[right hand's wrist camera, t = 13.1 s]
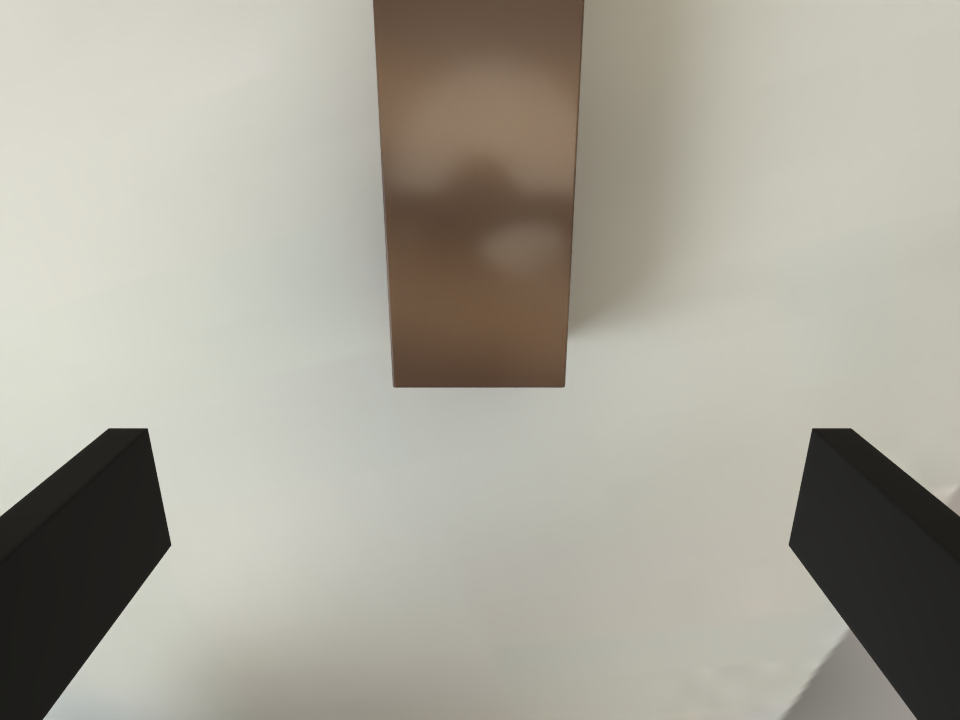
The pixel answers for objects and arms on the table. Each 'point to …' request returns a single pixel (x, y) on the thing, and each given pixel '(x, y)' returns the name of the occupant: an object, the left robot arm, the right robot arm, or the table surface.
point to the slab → (478, 186)
